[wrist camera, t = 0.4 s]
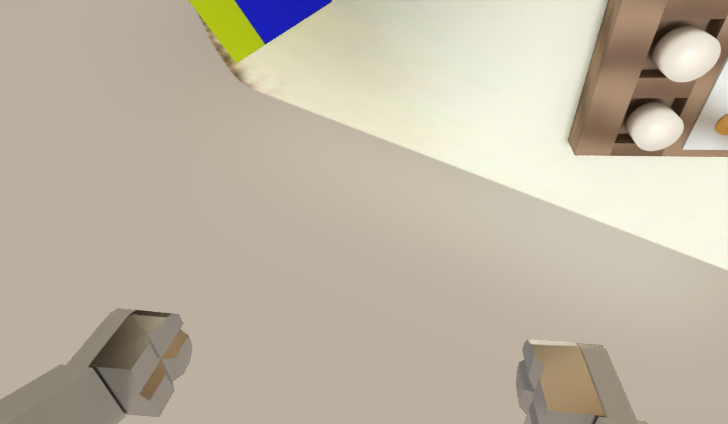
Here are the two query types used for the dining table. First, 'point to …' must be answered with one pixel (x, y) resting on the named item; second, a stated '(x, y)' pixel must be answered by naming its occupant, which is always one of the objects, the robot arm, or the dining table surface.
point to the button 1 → (654, 126)
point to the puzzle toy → (252, 21)
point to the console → (652, 81)
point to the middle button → (686, 53)
